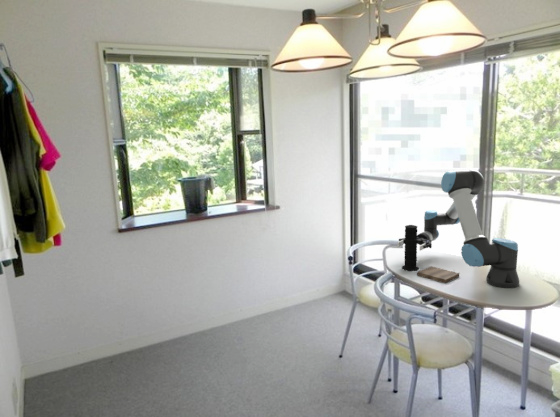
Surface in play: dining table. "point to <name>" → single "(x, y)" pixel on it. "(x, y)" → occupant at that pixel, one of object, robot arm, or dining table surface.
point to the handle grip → (410, 248)
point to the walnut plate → (438, 274)
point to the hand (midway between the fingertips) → (408, 246)
